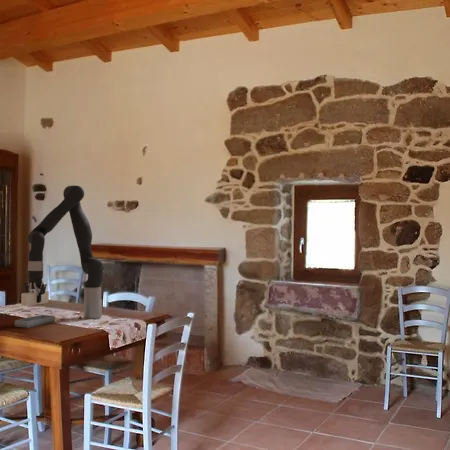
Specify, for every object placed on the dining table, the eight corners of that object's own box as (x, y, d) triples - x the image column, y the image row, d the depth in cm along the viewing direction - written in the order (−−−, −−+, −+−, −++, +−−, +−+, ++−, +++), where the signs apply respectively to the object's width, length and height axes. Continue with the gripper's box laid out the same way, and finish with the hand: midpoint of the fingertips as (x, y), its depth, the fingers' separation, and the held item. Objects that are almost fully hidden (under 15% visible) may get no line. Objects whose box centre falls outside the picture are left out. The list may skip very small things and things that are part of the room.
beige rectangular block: (43, 301, 285) (43, 290, 285) (48, 302, 283) (48, 291, 283) (21, 305, 273) (21, 293, 273) (26, 305, 271) (26, 294, 271)
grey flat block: (42, 320, 288) (42, 314, 288) (54, 321, 285) (54, 315, 285) (14, 326, 271) (14, 320, 271) (27, 327, 267) (27, 321, 267)
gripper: (51, 269, 278) (50, 302, 278) (30, 268, 284) (30, 300, 284) (40, 270, 271) (40, 304, 271) (19, 269, 277) (19, 302, 277)
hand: (35, 302), depth 278 cm, fingers closed on beige rectangular block, 4 cm apart
